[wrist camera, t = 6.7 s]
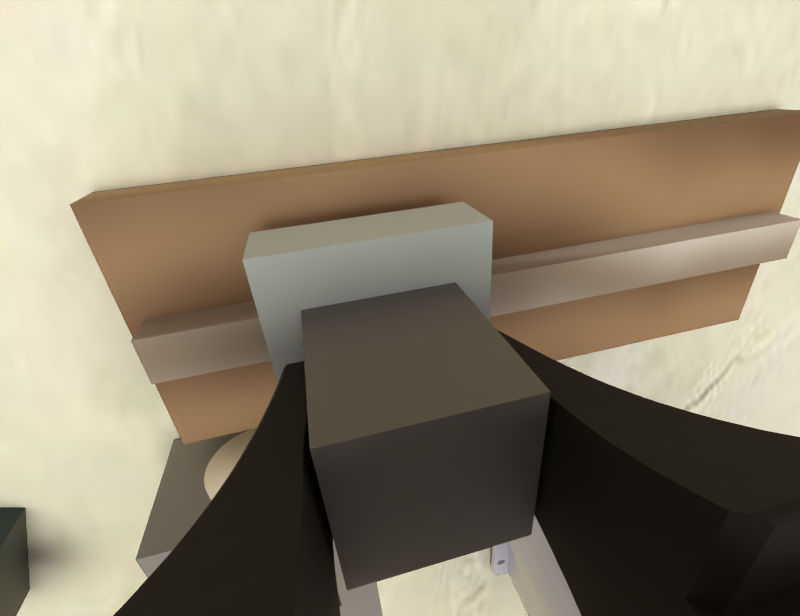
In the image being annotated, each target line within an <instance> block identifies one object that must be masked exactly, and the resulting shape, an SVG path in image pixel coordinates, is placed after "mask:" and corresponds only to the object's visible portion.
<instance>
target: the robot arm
mask: <svg viewBox="0 0 800 616" xmlns="http://www.w3.org/2000/svg"><path fill="white" fill-rule="evenodd" d="M497 331H498V332H499V333H500V334H501V335H502V336H503V337H504V339H505V340H506V341H507V342H508V343H509V344H510V345H511V347H512V348H513V349H514V350H515V351H516V352H517V354H518V355H519V356H520V357H521V358H522V359H523V360H524V362H525V363H526V364H527V365H528V366H529V367H530V369H531V370H532V371H533V372H534V373H535V374H536V375H537V377H538V378H539V379H540V380H541V381H542V382H543V383H544V385H545V386H546V387H547V388H548V389H549V390H550V392H551V394H550V401H549V408H548V416H547V423H546V431H545V438H544V445H543V453H542V460H541V468H540V475H539V482H538V490H537V497H536V505H535V512H534V519H533V527H532V534H531V535H529V536H526V537H523V538H519V539H516V540H513V541H509V542H506V543H503V544H500V545H496V546H493V547H492V561H491V569H492V571H493V574H495V575H500V574H504V573H507V572H508V573H509V575H510V577H511V579H512V582H513V584H514V586H515V588H516V590H517V592H518V595H519V597H520V599H521V601H522V603H523V606H524V608H525V610H526V612H527V614H528V616H800V437H795V436H790V435H785V434H779V433H774V432H769V431H764V430H759V429H755V428H751V427H747V426H742V425H738V424H734V423H730V422H726V421H721V420H717V419H714V418H710V417H706V416H702V415H699V414H695V413H691V412H688V411H685V410H681V409H678V408H675V407H671V406H668V405H665V404H662V403H658V402H655V401H652V400H649V399H646V398H643V397H640V396H638V395H635V394H632V393H630V392H627V391H624V390H622V389H619V388H616V387H614V386H611V385H608V384H606V383H603V382H601V381H599V380H596V379H594V378H592V377H589V376H587V375H585V374H583V373H581V372H578V371H576V370H574V369H572V368H570V367H568V366H565V365H563V364H561V363H559V362H557V361H555V360H553V359H551V358H549V357H547V356H545V355H543V354H542V353H540V352H538V351H536V350H534V349H532V348H530V347H528V346H526V345H525V344H523V343H521V342H519V341H517V340H515V339H514V338H512V337H510V336H508V335H506V334H504V333H502V332H501V331H499V330H497ZM113 616H341V614H340V606H339V598H338V589H337V581H336V572H335V563H334V549H333V536H332V532H331V528H330V524H329V520H328V517H327V513H326V509H325V505H324V501H323V498H322V494H321V490H320V486H319V482H318V479H317V475H316V471H315V467H314V464H313V460H312V456H311V452H310V445H309V429H308V414H307V398H306V382H305V366H304V361H301V362H296V363H291V364H287V365H286V366H285V367H284V369H283V371H282V374H281V377H280V379H279V382H278V385H277V387H276V389H275V392H274V394H273V396H272V398H271V401H270V403H269V405H268V407H267V409H266V411H265V413H264V415H263V417H262V419H261V421H260V423H259V425H258V427H257V429H256V431H255V433H254V434H253V436H252V438H251V440H250V441H249V443H248V445H247V446H246V448H245V450H244V452H243V453H242V455H241V457H240V459H239V460H238V462H237V463H236V465H235V467H234V468H233V470H232V471H231V473H230V474H229V476H228V477H227V479H226V480H225V482H224V483H223V485H222V486H221V488H220V489H219V491H218V492H217V493H216V495H215V496H214V498H213V499H212V500H211V502H210V503H209V505H208V506H207V507H206V508H205V510H204V511H203V512H202V514H201V515H200V516H199V518H198V519H197V520H196V522H195V523H194V524H193V525H192V527H191V528H190V529H189V531H188V532H187V533H186V534H185V536H184V537H183V538H182V539H181V541H180V542H179V543H178V544H177V545H176V547H175V548H174V549H173V550H172V552H171V553H170V554H169V555H168V556H167V557H166V558H165V559H164V561H163V562H162V563H161V564H160V565H159V566H158V567H157V568H156V570H155V571H154V572H153V573H152V574H151V575H150V576H149V577H148V579H147V580H146V581H145V582H144V583H143V584H142V585H141V587H140V588H139V589H138V590H137V591H136V592H135V593H134V594H133V595H132V597H131V598H130V599H129V600H128V601H127V602H126V603H125V604H124V605H123V606H122V607H121V608H120V609H119V610H118V611H117V612H116V613H115V614H114V615H113Z"/></svg>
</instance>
